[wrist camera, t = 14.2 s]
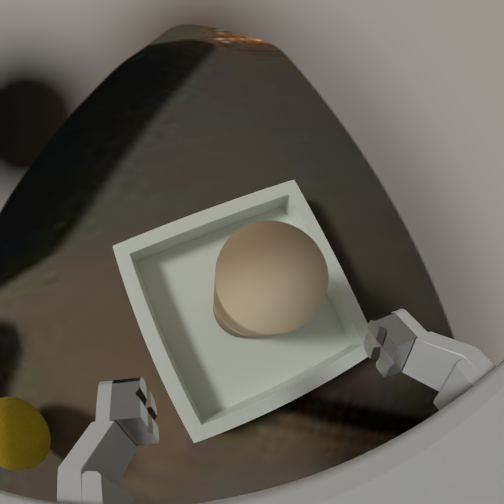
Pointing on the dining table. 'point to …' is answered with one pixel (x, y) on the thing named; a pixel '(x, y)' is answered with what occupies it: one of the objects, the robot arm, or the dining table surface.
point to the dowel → (268, 280)
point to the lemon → (22, 435)
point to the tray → (213, 336)
